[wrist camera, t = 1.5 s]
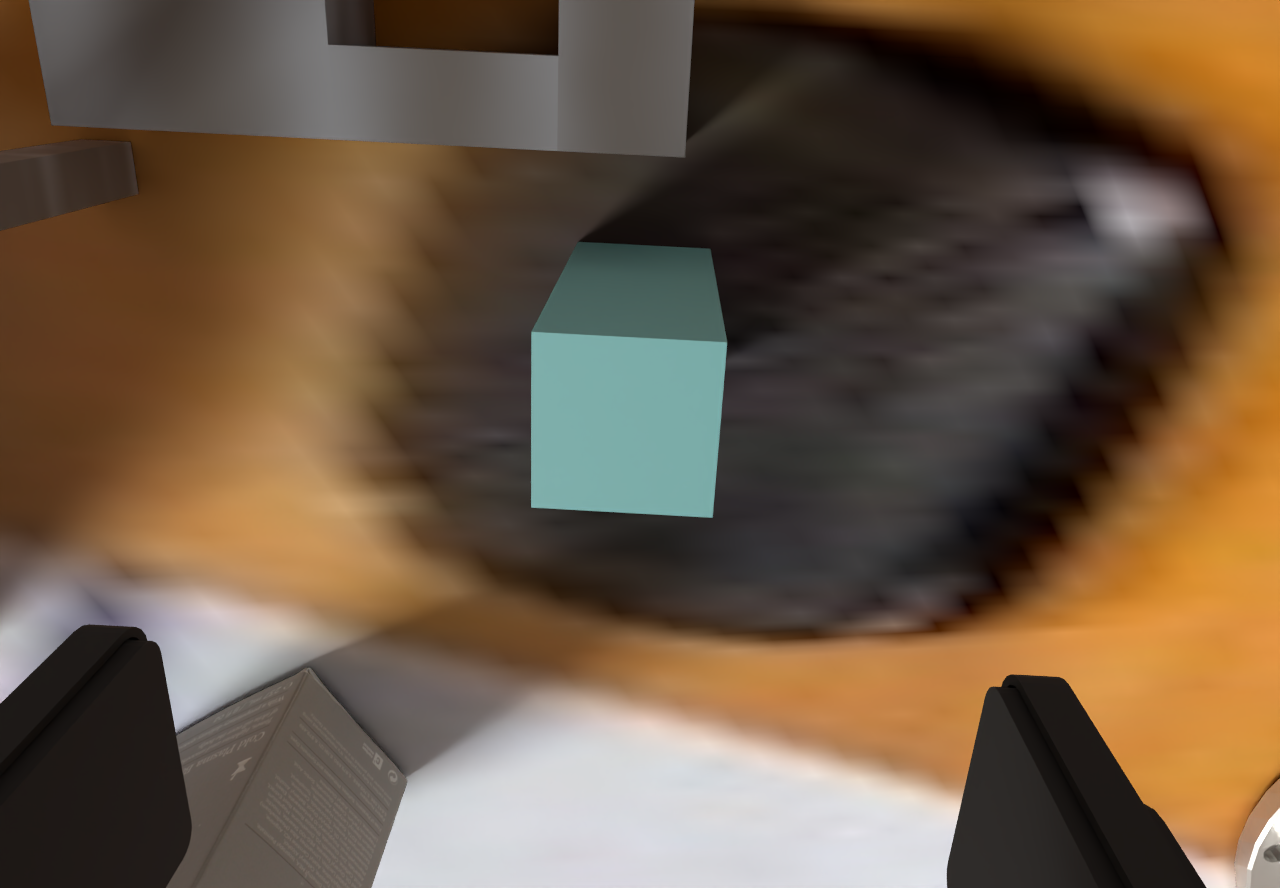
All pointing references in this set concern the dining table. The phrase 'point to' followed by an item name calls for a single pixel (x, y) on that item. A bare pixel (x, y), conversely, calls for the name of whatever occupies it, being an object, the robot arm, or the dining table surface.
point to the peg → (629, 383)
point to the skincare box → (285, 793)
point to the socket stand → (336, 85)
